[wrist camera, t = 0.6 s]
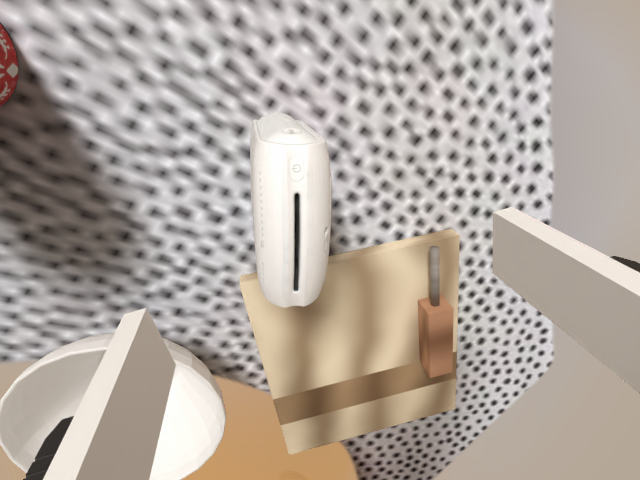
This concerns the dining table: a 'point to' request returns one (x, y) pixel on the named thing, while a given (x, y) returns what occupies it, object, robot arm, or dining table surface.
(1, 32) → the mug
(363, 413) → the light wooden cutting board
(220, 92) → the dining table surface
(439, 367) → the awl
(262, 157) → the photo printer
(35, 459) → the robot arm
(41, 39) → the dining table surface
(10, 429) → the bowl
